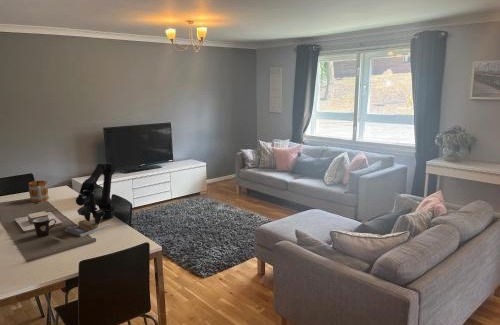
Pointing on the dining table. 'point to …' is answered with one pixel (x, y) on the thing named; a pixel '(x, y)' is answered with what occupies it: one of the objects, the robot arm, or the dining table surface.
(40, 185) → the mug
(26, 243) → the dining table surface
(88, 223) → the walnut slider
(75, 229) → the rail plate
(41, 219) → the coffee mug
